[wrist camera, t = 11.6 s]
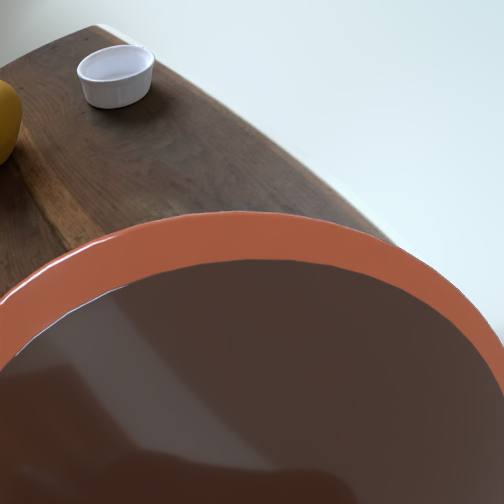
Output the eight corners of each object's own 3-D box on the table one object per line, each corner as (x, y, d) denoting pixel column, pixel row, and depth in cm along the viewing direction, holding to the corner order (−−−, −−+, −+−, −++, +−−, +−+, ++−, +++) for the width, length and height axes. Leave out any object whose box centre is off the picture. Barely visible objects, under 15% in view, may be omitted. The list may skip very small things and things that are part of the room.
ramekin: (98, 72, 32) (95, 44, 29) (161, 73, 34) (163, 45, 30) (70, 112, 28) (63, 82, 25) (142, 115, 30) (142, 82, 26)
